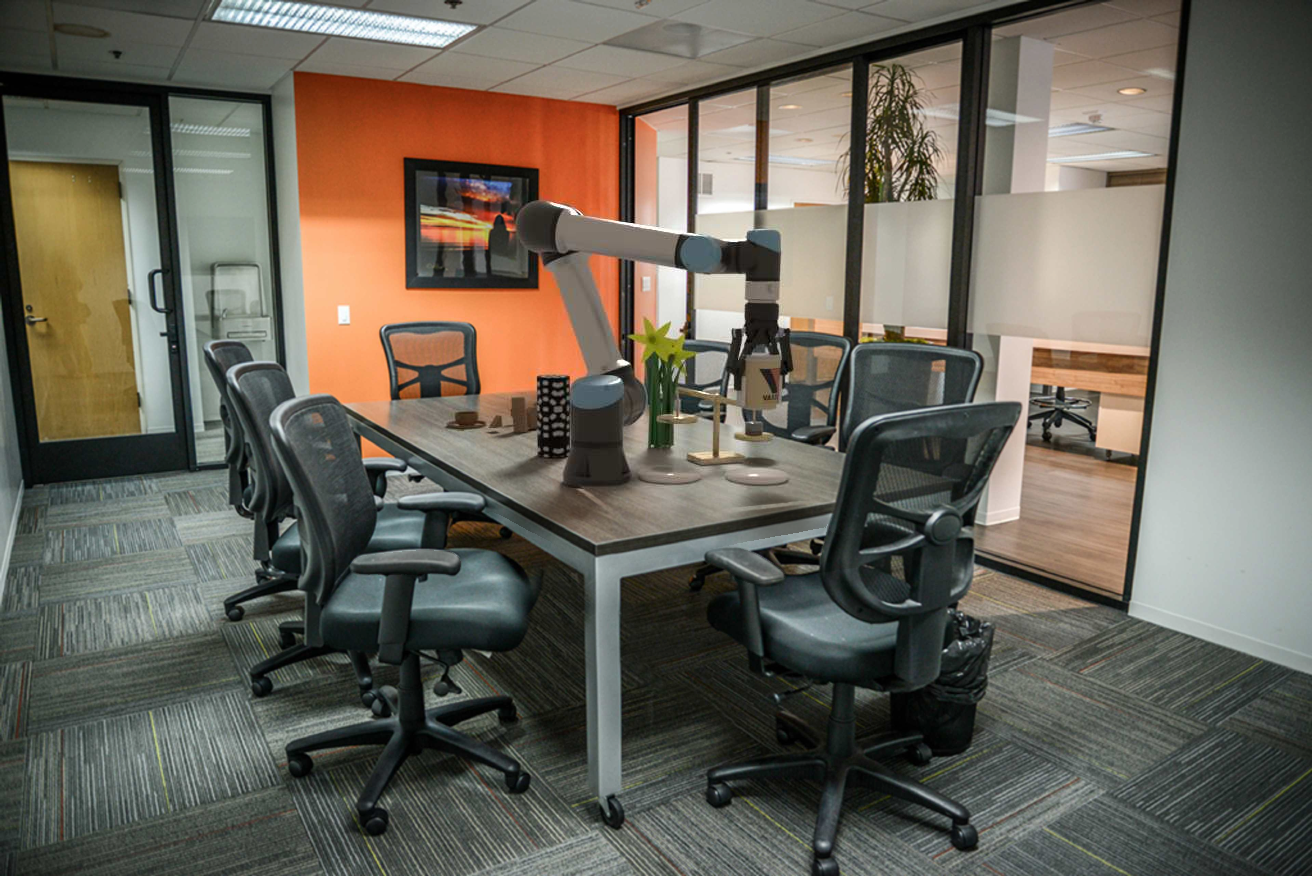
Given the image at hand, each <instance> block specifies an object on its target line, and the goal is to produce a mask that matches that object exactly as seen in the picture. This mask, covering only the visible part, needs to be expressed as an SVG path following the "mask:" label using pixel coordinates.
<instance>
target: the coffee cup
mask: <svg viewBox="0 0 1312 876" xmlns="http://www.w3.org/2000/svg"><path fill="white" fill-rule="evenodd" d="M742 356H745V355H743V354H742ZM781 360H782V357H781V353H780V354H778V355H772V354H769V352H752V355H746V358H745V361H746V368H745V371H744V373H743V375H742V376H745V377H746V398H745V406H742V407H741V409H744V410H750V411H753V410H756V411H771V410H773V411H774V410H776V409H777V405H778V404H777V397H778V387H779V377H780V366H781Z"/></svg>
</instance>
